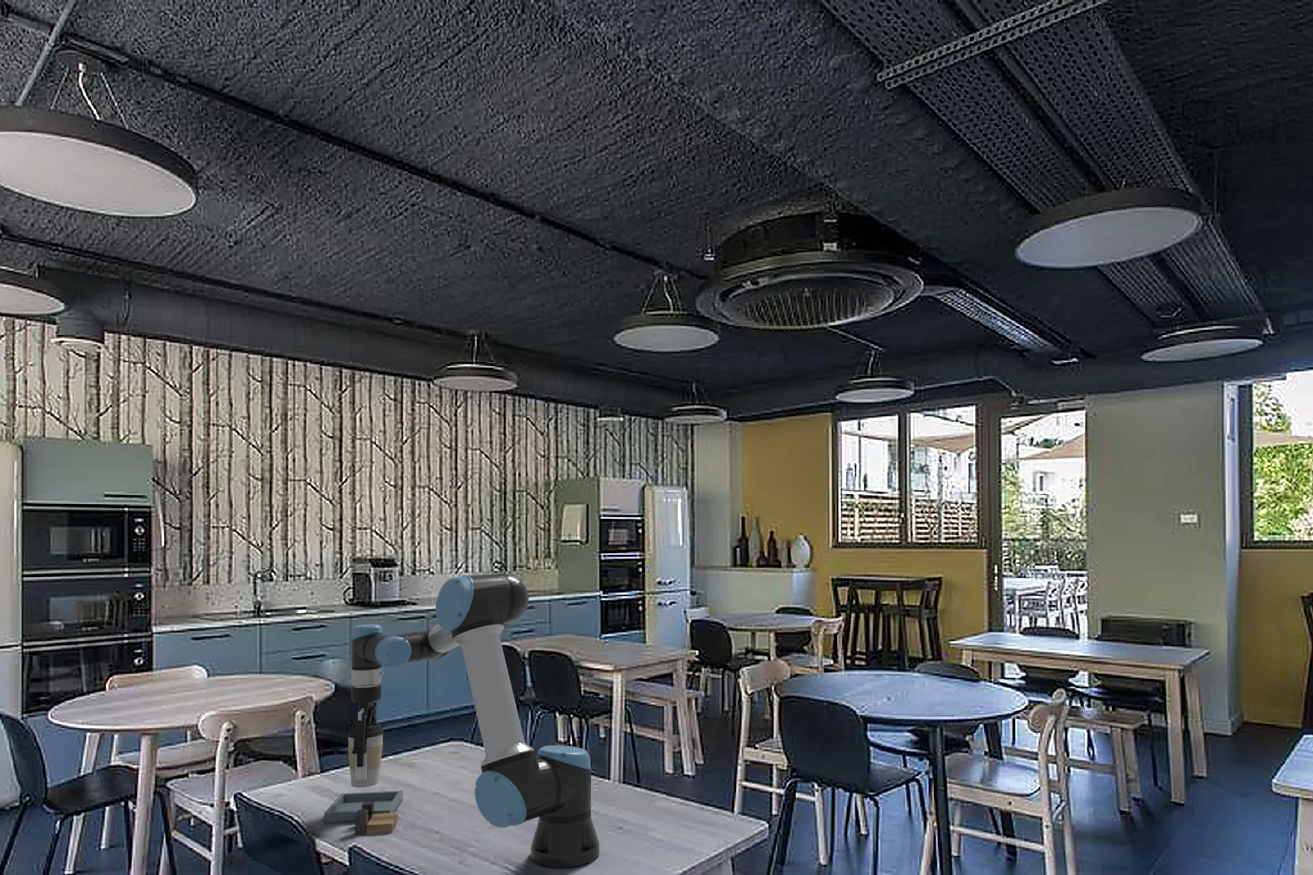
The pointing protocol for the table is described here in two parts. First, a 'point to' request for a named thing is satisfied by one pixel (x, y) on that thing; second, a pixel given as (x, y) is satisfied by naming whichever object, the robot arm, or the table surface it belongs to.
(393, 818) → the wooden block
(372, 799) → the tray
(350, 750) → the coffee cup
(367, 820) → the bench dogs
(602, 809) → the table surface
